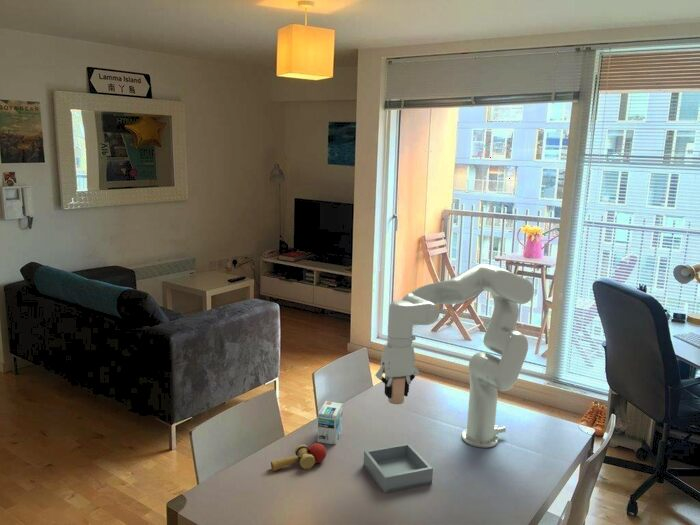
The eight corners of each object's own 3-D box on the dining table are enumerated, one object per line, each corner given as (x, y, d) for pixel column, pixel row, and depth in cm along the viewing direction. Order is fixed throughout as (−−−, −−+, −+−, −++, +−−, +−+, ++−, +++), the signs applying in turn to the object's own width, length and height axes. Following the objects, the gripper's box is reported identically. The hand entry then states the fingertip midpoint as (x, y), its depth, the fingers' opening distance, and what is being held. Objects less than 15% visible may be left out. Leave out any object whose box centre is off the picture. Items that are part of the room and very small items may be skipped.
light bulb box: (335, 445, 194) (336, 415, 192) (316, 442, 195) (317, 413, 193) (342, 430, 204) (343, 402, 202) (324, 428, 206) (325, 400, 204)
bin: (408, 457, 188) (408, 443, 187) (431, 483, 173) (433, 468, 172) (363, 465, 182) (364, 450, 181) (384, 493, 167) (385, 477, 167)
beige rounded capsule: (399, 396, 183) (401, 373, 181) (406, 403, 178) (408, 379, 177) (385, 398, 181) (386, 374, 180) (392, 405, 177) (393, 380, 175)
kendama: (277, 482, 174) (331, 462, 181) (274, 462, 173) (328, 443, 180) (270, 473, 181) (322, 455, 188) (267, 454, 180) (319, 436, 187)
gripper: (418, 335, 182) (415, 388, 186) (369, 338, 177) (367, 393, 180) (429, 342, 175) (425, 397, 179) (378, 346, 170) (376, 403, 173)
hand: (396, 395), depth 179 cm, fingers closed on beige rounded capsule, 5 cm apart
